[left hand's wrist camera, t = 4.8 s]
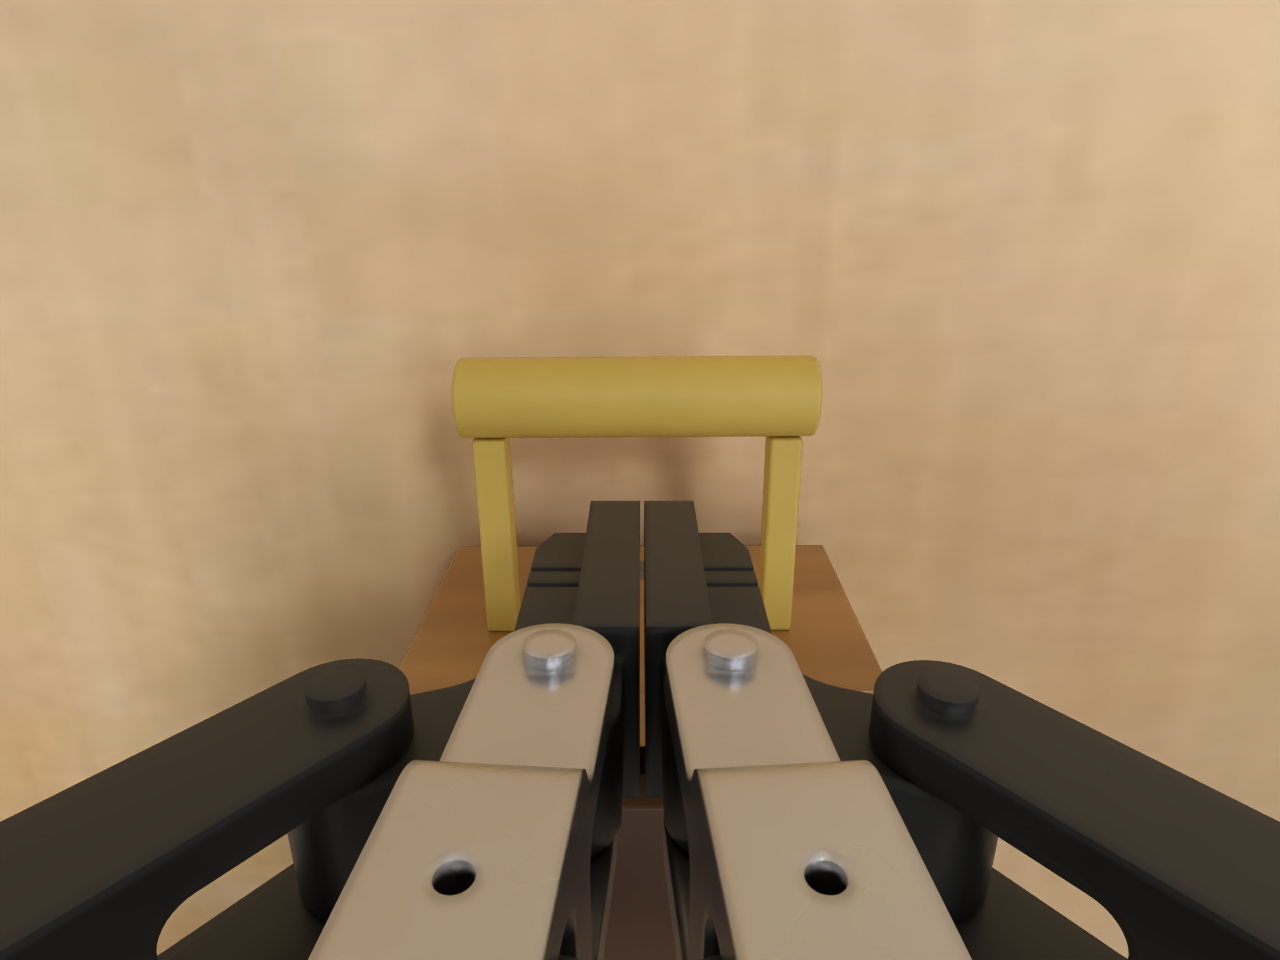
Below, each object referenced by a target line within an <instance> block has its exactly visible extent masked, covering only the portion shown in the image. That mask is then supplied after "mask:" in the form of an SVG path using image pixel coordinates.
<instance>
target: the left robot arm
mask: <svg viewBox="0 0 1280 960" xmlns="http://www.w3.org/2000/svg"><path fill="white" fill-rule="evenodd" d="M644 679H645V794H646V798H663V809H664V841H663V856H664V865H665V873H666V881H667V888H668V896H669V904H670V912H671V920H672V927H673V935H674V943H675V951H676V958H677V960H1280V822H1279V821H1277V820H1275V819H1273V818H1271V817H1269V816H1267V815H1265V814H1263V813H1261V812H1258V811H1256V810H1254V809H1252V808H1250V807H1248V806H1246V805H1244V804H1242V803H1240V802H1238V801H1236V800H1234V799H1232V798H1230V797H1228V796H1226V795H1224V794H1222V793H1220V792H1218V791H1216V790H1214V789H1212V788H1210V787H1208V786H1206V785H1204V784H1202V783H1200V782H1198V781H1196V780H1194V779H1192V778H1190V777H1188V776H1186V775H1184V774H1182V773H1180V772H1178V771H1176V770H1174V769H1172V768H1170V767H1168V766H1166V765H1164V764H1162V763H1160V762H1158V761H1156V760H1154V759H1152V758H1150V757H1148V756H1146V755H1144V754H1142V753H1140V752H1138V751H1136V750H1134V749H1132V748H1130V747H1128V746H1126V745H1124V744H1122V743H1120V742H1118V741H1116V740H1114V739H1112V738H1110V737H1108V736H1106V735H1104V734H1102V733H1100V732H1098V731H1096V730H1094V729H1092V728H1090V727H1088V726H1086V725H1084V724H1082V723H1080V722H1078V721H1076V720H1074V719H1072V718H1070V717H1068V716H1066V715H1064V714H1062V713H1060V712H1058V711H1056V710H1054V709H1052V708H1050V707H1048V706H1046V705H1044V704H1042V703H1040V702H1038V701H1036V700H1034V699H1032V698H1030V697H1028V696H1026V695H1024V694H1022V693H1020V692H1018V691H1016V690H1014V689H1012V688H1010V687H1008V686H1006V685H1004V684H1002V683H1000V682H998V681H996V680H994V679H992V678H990V677H988V676H986V675H984V674H981V673H979V672H977V671H975V670H972V669H969V668H966V667H963V666H960V665H956V664H952V663H947V662H940V661H929V660H920V661H909V662H903V663H900V664H896V665H894V666H891V667H889V668H887V669H886V670H885V671H883V672H882V673H881V674H880V675H879V676H878V678H877V679H876V682H875V684H874V692H873V694H870V693H865V692H861V691H856V690H851V689H846V688H841V687H837V686H833V685H828V684H825V683H822V682H820V681H817V680H814V679H812V678H810V677H808V676H806V675H804V674H802V673H801V670H800V668H799V666H798V664H797V661H796V659H795V657H794V655H793V653H792V651H791V650H790V648H789V647H788V646H787V645H786V644H785V643H784V642H783V641H782V640H780V639H779V638H778V637H776V636H774V635H772V632H771V628H770V625H769V621H768V618H767V614H766V610H765V607H764V603H763V599H762V596H761V592H760V589H759V587H758V581H757V578H756V574H755V571H754V567H753V563H752V560H751V556H750V553H749V549H748V548H747V547H745V546H744V545H743V544H742V543H741V542H740V541H738V540H737V539H736V538H735V537H734V536H732V535H731V534H730V533H698V528H697V521H696V515H695V508H694V502H693V501H644ZM623 798H640V501H591V504H590V511H589V518H588V525H587V532H586V533H554V534H553V535H552V536H551V537H550V538H549V539H547V540H546V541H545V542H544V543H543V544H541V545H540V546H539V547H538V548H537V549H536V551H535V555H534V558H533V562H532V566H531V571H530V573H529V577H528V581H527V587H526V589H525V592H524V596H523V600H522V604H521V607H520V611H519V615H518V619H517V622H516V626H515V630H514V632H512V633H510V634H508V635H506V636H504V637H502V638H501V639H500V640H498V641H497V642H496V643H495V644H494V645H493V646H492V647H491V648H490V650H489V651H488V653H487V655H486V657H485V659H484V661H483V664H482V666H481V668H480V670H479V673H478V675H477V677H476V678H474V679H472V680H470V681H467V682H464V683H461V684H458V685H455V686H451V687H447V688H442V689H437V690H432V691H427V692H422V693H417V694H412V695H410V690H409V682H408V680H407V678H406V676H405V675H404V673H403V672H402V671H401V670H399V669H398V668H397V667H395V666H393V665H391V664H389V663H386V662H382V661H378V660H371V659H346V660H339V661H333V662H329V663H325V664H321V665H318V666H315V667H312V668H310V669H307V670H305V671H303V672H300V673H298V674H296V675H294V676H292V677H290V678H288V679H286V680H284V681H282V682H280V683H278V684H276V685H274V686H272V687H270V688H268V689H266V690H264V691H262V692H260V693H258V694H256V695H254V696H252V697H250V698H248V699H246V700H244V701H242V702H240V703H238V704H236V705H234V706H232V707H230V708H228V709H226V710H224V711H222V712H220V713H218V714H216V715H214V716H212V717H210V718H208V719H206V720H204V721H202V722H200V723H198V724H196V725H194V726H192V727H190V728H188V729H186V730H184V731H182V732H180V733H178V734H176V735H174V736H172V737H170V738H168V739H166V740H164V741H162V742H160V743H158V744H156V745H154V746H152V747H150V748H148V749H146V750H144V751H142V752H140V753H138V754H136V755H134V756H132V757H130V758H128V759H126V760H124V761H122V762H120V763H118V764H116V765H114V766H112V767H110V768H108V769H106V770H104V771H102V772H100V773H98V774H96V775H94V776H92V777H90V778H88V779H86V780H84V781H82V782H80V783H78V784H76V785H74V786H72V787H70V788H68V789H66V790H64V791H62V792H60V793H58V794H56V795H54V796H52V797H50V798H48V799H46V800H44V801H42V802H40V803H38V804H36V805H34V806H32V807H30V808H28V809H26V810H24V811H22V812H20V813H18V814H16V815H14V816H12V817H9V818H7V819H5V820H3V821H1V822H0V960H603V958H604V951H605V943H606V935H607V927H608V920H609V912H610V904H611V896H612V888H613V881H614V873H615V865H616V856H617V841H616V835H617V833H618V831H619V828H620V826H621V821H622V803H623ZM287 833H288V838H289V843H290V848H291V853H292V858H293V863H294V864H292V865H291V866H289V867H288V868H286V869H285V870H283V871H282V872H280V873H279V874H277V875H276V876H274V877H273V878H272V879H270V880H269V881H267V882H266V883H264V884H263V885H261V886H260V887H258V888H257V889H255V890H254V891H252V892H251V893H249V894H248V895H246V896H245V897H244V898H242V899H241V900H239V901H238V902H236V903H235V904H233V905H232V906H230V907H229V908H227V909H226V910H224V911H223V912H221V913H220V914H219V915H217V916H216V917H214V918H213V919H211V920H210V921H208V922H207V923H205V924H204V925H202V926H201V927H199V928H198V929H196V930H195V931H194V932H192V933H191V934H189V935H188V936H186V937H185V938H183V939H182V940H180V941H179V942H177V943H176V944H174V945H173V946H171V947H170V948H168V949H167V950H166V951H164V952H163V953H161V954H159V955H158V956H157V953H156V949H157V942H158V938H159V935H160V933H161V930H162V928H163V926H164V925H165V923H166V921H167V920H168V918H169V917H170V916H171V914H172V913H173V912H174V911H175V910H176V909H177V908H178V906H179V905H180V904H182V903H183V902H184V901H185V900H186V899H187V898H189V897H190V896H191V895H193V894H194V893H195V892H197V891H199V890H200V889H202V888H203V887H205V886H206V885H208V884H209V883H211V882H213V881H214V880H216V879H217V878H219V877H220V876H222V875H223V874H225V873H226V872H228V871H230V870H231V869H233V868H234V867H236V866H237V865H239V864H240V863H242V862H243V861H245V860H247V859H248V858H250V857H251V856H253V855H254V854H256V853H257V852H259V851H260V850H262V849H264V848H265V847H267V846H268V845H270V844H271V843H273V842H274V841H276V840H277V839H279V838H281V837H282V836H284V835H285V834H287ZM998 837H999V838H1001V839H1003V840H1004V841H1006V842H1007V843H1009V844H1010V845H1012V846H1013V847H1015V848H1016V849H1018V850H1020V851H1021V852H1023V853H1024V854H1026V855H1027V856H1029V857H1030V858H1032V859H1033V860H1035V861H1037V862H1038V863H1040V864H1041V865H1043V866H1044V867H1046V868H1047V869H1049V870H1051V871H1052V872H1054V873H1055V874H1057V875H1058V876H1060V877H1061V878H1063V879H1064V880H1066V881H1068V882H1069V883H1071V884H1072V885H1074V886H1075V887H1077V888H1078V889H1080V890H1081V891H1083V892H1085V893H1086V894H1088V895H1089V896H1091V897H1092V898H1093V899H1095V900H1096V901H1098V902H1099V903H1100V904H1101V905H1102V906H1103V907H1104V908H1105V909H1106V910H1107V911H1108V912H1109V913H1110V914H1111V915H1112V916H1113V918H1114V919H1115V920H1116V922H1117V923H1118V924H1119V926H1120V928H1121V930H1122V931H1123V933H1124V936H1125V938H1126V941H1127V945H1128V950H1129V957H1128V959H1127V958H1125V957H1124V956H1122V955H1120V954H1119V953H1117V952H1116V951H1114V950H1113V949H1112V948H1110V947H1109V946H1107V945H1106V944H1104V943H1103V942H1101V941H1100V940H1098V939H1097V938H1095V937H1094V936H1092V935H1091V934H1089V933H1088V932H1087V931H1085V930H1084V929H1082V928H1081V927H1079V926H1078V925H1076V924H1075V923H1073V922H1072V921H1070V920H1069V919H1067V918H1066V917H1064V916H1063V915H1061V914H1060V913H1059V912H1057V911H1056V910H1054V909H1053V908H1051V907H1050V906H1048V905H1047V904H1045V903H1044V902H1042V901H1041V900H1039V899H1038V898H1036V897H1035V896H1034V895H1032V894H1031V893H1029V892H1028V891H1026V890H1025V889H1023V888H1022V887H1020V886H1019V885H1017V884H1016V883H1014V882H1013V881H1011V880H1010V879H1008V878H1007V877H1006V876H1004V875H1003V874H1001V873H1000V872H998V871H997V870H995V869H994V868H992V865H993V860H994V855H995V850H996V845H997V840H998Z"/></svg>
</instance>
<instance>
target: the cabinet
mask: <svg viewBox="0 0 1280 960" xmlns="http://www.w3.org/2000/svg"><path fill="white" fill-rule="evenodd" d="M616 841H617V856H616V865H615V873H614V881H613V888H612V896H611V904H610V912H609V920H608V927H607V935H606V943H605V951H604V958H603V960H677V958H676V951H675V943H674V935H673V927H672V920H671V912H670V904H669V896H668V888H667V881H666V873H665V865H664V856H663V841H664V809H663V798H646V794H645V774H640V798H623V803H622V821H621V826H620V828H619V831H618V833H617V835H616Z"/></svg>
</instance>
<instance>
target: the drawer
mask: <svg viewBox="0 0 1280 960" xmlns="http://www.w3.org/2000/svg"><path fill="white" fill-rule="evenodd" d="M821 404H822V383H821V373H820V368H819V364H818V361H817V359H816V358H815V357H813V356H707V357H557V358H462V359H459V360H458V361H457V363H456V366H455V369H454V374H453V382H452V406H453V415H454V421H455V425H456V428H457V431H458V433H459V435H460V436H461V437H463V438H475V439H474V440H473V442H472V447H473V459H474V470H475V482H476V494H477V506H478V518H479V530H480V542H481V547H458V549H457V551H456V553H455V555H454V557H453V559H452V561H451V563H450V565H449V567H448V569H447V571H446V573H445V575H444V577H443V579H442V581H441V583H440V585H439V587H438V589H437V591H436V593H435V595H434V597H433V600H432V602H431V604H430V606H429V608H428V610H427V612H426V614H425V616H424V618H423V620H422V622H421V624H420V626H419V628H418V630H417V632H416V634H415V636H414V638H413V640H412V642H411V644H410V646H409V648H408V650H407V653H406V655H405V657H404V659H403V661H402V663H401V665H400V667H399V670H401V671H402V672H403V673H404V675H405V676H406V678H407V680H408V682H409V690H410V695H412V694H417V693H422V692H427V691H432V690H437V689H442V688H447V687H451V686H455V685H458V684H461V683H464V682H467V681H470V680H472V679H474V678H476V677H477V675H478V673H479V670H480V668H481V666H482V664H483V661H484V659H485V657H486V655H487V653H488V651H489V650H490V648H491V647H492V646H493V645H494V644H495V643H496V642H497V641H498V640H500V639H501V638H502V637H504V636H506V635H508V634H510V633H512V632H514V630H515V626H516V622H517V619H518V615H519V611H520V607H521V604H522V600H523V596H524V592H525V589H526V587H527V581H528V577H529V573H530V571H531V566H532V562H533V558H534V555H535V551H536V549H537V548H538V547H517V543H516V528H515V513H514V498H513V483H512V468H511V453H510V438H552V437H719V436H766V447H765V467H764V488H763V508H762V529H761V545H750V546H745V547H747V548H748V549H749V553H750V556H751V560H752V563H753V567H754V571H755V574H756V578H757V581H758V587H759V589H760V592H761V596H762V599H763V603H764V607H765V610H766V614H767V618H768V621H769V625H770V628H771V632H772V635H774V636H776V637H778V638H779V639H780V640H782V641H783V642H784V643H785V644H786V645H787V646H788V647H789V648H790V650H791V651H792V653H793V655H794V657H795V659H796V661H797V664H798V666H799V668H800V670H801V673H802V674H804V675H806V676H808V677H810V678H812V679H814V680H817V681H820V682H822V683H825V684H828V685H833V686H837V687H841V688H846V689H851V690H856V691H861V692H865V693H870V694H873V692H874V684H875V682H876V679H877V678H878V676H879V675H880V674H881V673H882V670H881V668H880V666H879V664H878V662H877V660H876V658H875V656H874V653H873V651H872V649H871V647H870V645H869V643H868V641H867V639H866V637H865V634H864V632H863V630H862V628H861V626H860V624H859V622H858V620H857V617H856V615H855V613H854V611H853V609H852V607H851V605H850V603H849V601H848V598H847V596H846V594H845V592H844V590H843V588H842V586H841V584H840V581H839V579H838V577H837V575H836V573H835V571H834V569H833V567H832V564H831V562H830V560H829V558H828V556H827V554H826V552H825V550H824V548H823V546H822V545H796V536H797V520H798V505H799V490H800V474H801V459H802V444H803V442H802V439H801V437H800V436H811V435H814V434H815V432H816V430H817V427H818V424H819V420H820V414H821ZM640 774H645V679H644V546H640Z"/></svg>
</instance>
